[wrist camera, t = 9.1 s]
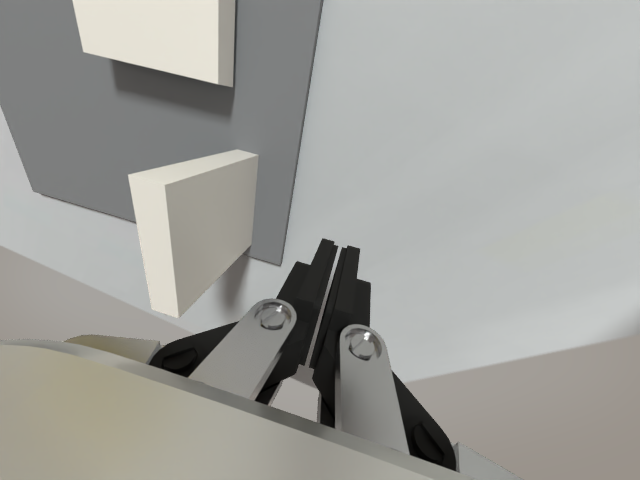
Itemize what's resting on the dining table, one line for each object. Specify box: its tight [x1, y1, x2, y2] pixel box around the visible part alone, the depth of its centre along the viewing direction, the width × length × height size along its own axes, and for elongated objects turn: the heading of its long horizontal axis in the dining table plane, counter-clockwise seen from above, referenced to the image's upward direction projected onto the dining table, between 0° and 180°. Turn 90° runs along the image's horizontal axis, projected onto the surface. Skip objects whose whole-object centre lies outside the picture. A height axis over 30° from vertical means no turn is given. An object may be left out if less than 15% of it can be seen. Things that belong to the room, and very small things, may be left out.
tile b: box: [128, 149, 259, 318], centre depth 12 cm, size 2×6×7 cm, turn 168°
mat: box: [0, 0, 323, 265], centre depth 14 cm, size 20×16×1 cm
